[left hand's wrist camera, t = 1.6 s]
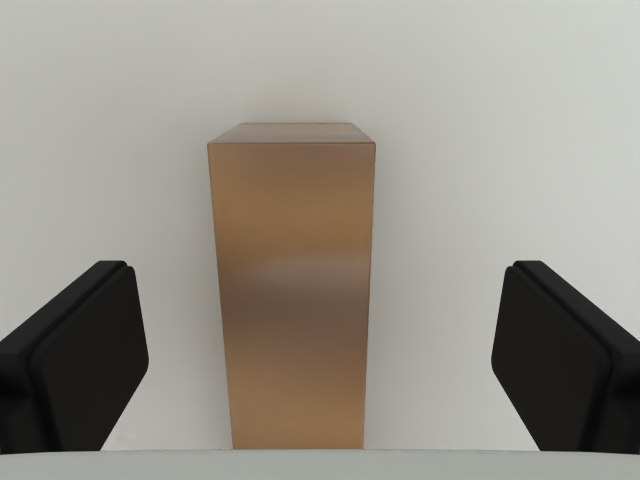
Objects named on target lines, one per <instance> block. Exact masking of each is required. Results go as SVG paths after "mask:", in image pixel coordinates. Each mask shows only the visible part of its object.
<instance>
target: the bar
mask: <svg viewBox="0 0 640 480" xmlns="http://www.w3.org/2000/svg"><path fill="white" fill-rule="evenodd" d="M207 149H208V161H209V173H210V184H211V196H212V208H213V219H214V231H215V243H216V254H217V266H218V278H219V290H220V301H221V313H222V325H223V336H224V348H225V360H226V371H227V383H228V395H229V406H230V418H231V430H232V441H233V450H278V449H362V450H363V437H364V413H365V389H366V366H367V342H368V318H369V294H370V271H371V247H372V223H373V199H374V176H375V152H376V144H375V142H374V141H372V140H371V139H370V138H369V137H368V136H367V135H365V134H364V133H363V132H362V131H361V130H359V129H358V128H357V127H356V126H355V125H353V124H352V123H242V124H240V125H238V126H236V127H235V128H233V129H231V130H230V131H228V132H226V133H224V134H223V135H221V136H219V137H218V138H216V139H214V140H213V141H211V142H209V143H208V144H207Z"/></svg>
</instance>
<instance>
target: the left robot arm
mask: <svg viewBox="0 0 640 480" xmlns="http://www.w3.org/2000/svg"><path fill="white" fill-rule="evenodd" d="M148 364H149V357H148V350H147V344H146V338H145V332H144V326H143V319H142V313H141V307H140V301H139V294H138V288H137V282H136V276H135V271H134V269H133V267H131V266H127V264H126V262H124V261H98V262H97V263H96V264H94V265H93V266H92V267H91V268H89V269H88V270H87V271H86V272H85V273H83V274H82V275H81V276H80V277H78V278H77V279H76V280H75V281H74V282H72V283H71V284H70V285H69V286H67V287H66V288H65V289H64V290H63V291H61V292H60V293H59V294H58V295H57V296H55V297H54V298H53V299H52V300H50V301H49V302H48V303H47V304H46V305H44V306H43V307H42V308H41V309H39V310H38V311H37V312H36V313H35V314H33V315H32V316H31V317H30V318H28V319H27V320H26V321H25V322H24V323H22V324H21V325H20V326H19V327H18V328H16V329H15V330H14V331H13V332H11V333H10V334H9V335H8V336H7V337H5V338H4V339H3V340H2V341H0V480H640V341H638V340H637V339H636V338H635V337H633V336H632V335H631V334H630V333H629V332H627V331H626V330H625V329H624V328H622V327H621V326H620V325H619V324H618V323H616V322H615V321H614V320H613V319H612V318H610V317H609V316H608V315H607V314H605V313H604V312H603V311H602V310H601V309H599V308H598V307H597V306H596V305H594V304H593V303H592V302H591V301H590V300H588V299H587V298H586V297H585V296H583V295H582V294H581V293H580V292H579V291H577V290H576V289H575V288H574V287H572V286H571V285H570V284H569V283H568V282H566V281H565V280H564V279H563V278H562V277H560V276H559V275H558V274H557V273H555V272H554V271H553V270H552V269H551V268H549V267H548V266H547V265H546V264H544V263H543V262H542V261H516V262H514V264H513V266H509V267H507V269H506V271H505V276H504V282H503V288H502V294H501V301H500V307H499V313H498V319H497V326H496V332H495V338H494V344H493V350H492V357H491V364H492V369H493V372H494V374H495V375H496V377H497V379H498V380H499V382H500V384H501V385H502V387H503V389H504V391H505V392H506V394H507V396H508V397H509V399H510V401H511V402H512V404H513V406H514V407H515V409H516V411H517V412H518V414H519V416H520V418H521V419H522V421H523V423H524V424H525V426H526V428H527V429H528V431H529V433H530V434H531V436H532V438H533V439H534V441H535V443H536V445H537V446H538V448H539V450H540V451H499V450H362V449H278V450H141V451H100V450H101V448H102V446H103V445H104V443H105V441H106V439H107V438H108V436H109V434H110V433H111V431H112V429H113V428H114V426H115V424H116V423H117V421H118V419H119V418H120V416H121V414H122V412H123V411H124V409H125V407H126V406H127V404H128V402H129V401H130V399H131V397H132V396H133V394H134V392H135V391H136V389H137V387H138V385H139V384H140V382H141V380H142V379H143V377H144V375H145V374H146V372H147V369H148Z"/></svg>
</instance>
